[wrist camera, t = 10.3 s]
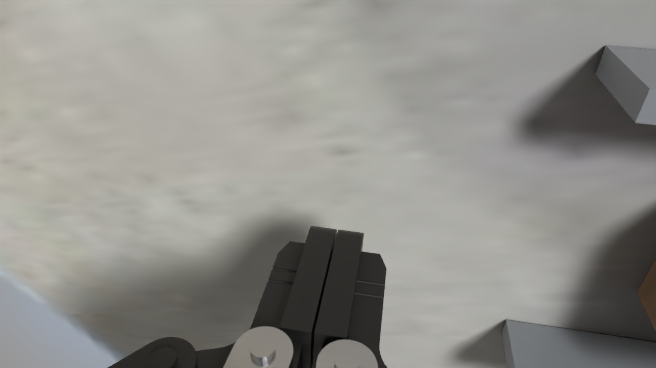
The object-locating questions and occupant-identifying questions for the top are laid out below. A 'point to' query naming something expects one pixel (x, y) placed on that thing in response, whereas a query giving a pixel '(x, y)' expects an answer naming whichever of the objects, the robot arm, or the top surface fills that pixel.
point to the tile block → (649, 294)
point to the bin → (578, 346)
